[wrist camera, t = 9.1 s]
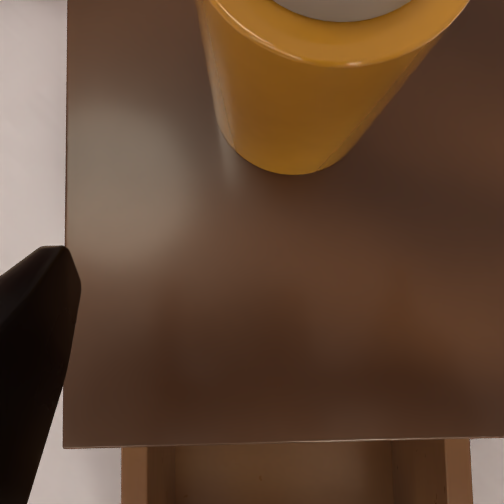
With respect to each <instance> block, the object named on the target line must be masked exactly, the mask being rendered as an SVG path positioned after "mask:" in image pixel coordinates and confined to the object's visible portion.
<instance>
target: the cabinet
mask: <svg viewBox="0 0 504 504" xmlns="http://www.w3.org/2000/svg"><path fill="white" fill-rule="evenodd" d="M65 247H67V248H68V249H69V251H70V253H71V255H72V258H73V261H74V263H75V266H76V269H77V271H78V274H79V277H80V280H81V297H80V303H79V308H78V314H77V320H76V325H75V331H74V337H73V342H72V348H71V354H70V359H69V364H68V369H67V373H66V377H65V380H64V384H63V448H64V449H87V448H126V447H164V446H203V445H242V444H280V443H319V442H358V441H397V440H435V439H474V438H504V0H470V1H469V2H468V4H467V5H466V7H465V8H464V10H463V11H462V12H461V14H460V15H459V16H458V17H457V19H456V20H455V21H454V22H453V24H452V25H451V26H450V27H449V29H448V30H447V31H446V32H445V34H444V35H443V36H442V37H441V39H440V40H439V41H438V42H437V44H436V45H435V46H434V47H433V49H432V50H431V51H430V52H429V54H428V55H427V56H426V57H425V59H424V60H423V61H422V62H421V64H420V65H419V66H418V67H417V69H416V70H415V71H414V72H413V74H412V75H411V76H410V77H409V79H408V80H407V81H406V82H405V84H404V85H403V86H402V87H401V89H400V90H399V91H398V93H397V94H396V95H395V96H394V98H393V99H392V100H391V101H390V103H389V104H388V105H387V106H386V108H385V109H384V110H383V111H382V113H381V114H380V115H379V116H378V118H377V119H376V120H375V121H374V123H373V124H372V125H371V126H370V128H369V129H368V130H367V131H366V133H365V134H364V135H363V136H362V138H361V139H360V140H359V141H358V143H357V144H356V145H355V146H354V147H353V148H352V150H351V151H350V152H349V153H348V154H347V155H345V156H344V157H343V158H342V159H341V160H339V161H337V162H336V163H334V164H333V165H331V166H329V167H327V168H325V169H322V170H319V171H316V172H313V173H307V174H300V175H287V174H279V173H274V172H270V171H267V170H264V169H262V168H259V167H257V166H256V165H254V164H252V163H250V162H249V161H247V160H246V159H244V158H243V157H242V156H241V155H239V154H238V153H237V152H236V151H235V150H234V149H233V148H232V146H231V145H230V144H229V143H228V142H227V140H226V138H225V137H224V135H223V134H222V132H221V130H220V128H219V125H218V123H217V120H216V117H215V112H214V107H213V101H212V96H211V90H210V84H209V79H208V73H207V68H206V62H205V56H204V51H203V45H202V40H201V34H200V28H199V23H198V17H197V12H196V6H195V0H68V1H67V93H66V185H65Z"/></svg>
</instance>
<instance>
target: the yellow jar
mask: <svg viewBox="0 0 504 504" xmlns="http://www.w3.org/2000/svg"><path fill="white" fill-rule="evenodd" d="M469 1H470V0H195V6H196V12H197V17H198V23H199V28H200V34H201V40H202V45H203V51H204V56H205V62H206V68H207V73H208V79H209V84H210V90H211V96H212V101H213V107H214V112H215V117H216V120H217V123H218V125H219V128H220V130H221V132H222V134H223V135H224V137H225V138H226V140H227V142H228V143H229V144H230V145H231V146H232V148H233V149H234V150H235V151H236V152H237V153H238V154H239V155H241V156H242V157H243V158H244V159H246V160H247V161H249V162H250V163H252V164H254V165H256V166H257V167H259V168H262V169H264V170H267V171H270V172H274V173H279V174H287V175H300V174H307V173H313V172H316V171H319V170H322V169H325V168H327V167H329V166H331V165H333V164H334V163H336V162H337V161H339V160H341V159H342V158H343V157H344V156H345V155H347V154H348V153H349V152H350V151H351V150H352V148H353V147H354V146H355V145H356V144H357V143H358V141H359V140H360V139H361V138H362V136H363V135H364V134H365V133H366V131H367V130H368V129H369V128H370V126H371V125H372V124H373V123H374V121H375V120H376V119H377V118H378V116H379V115H380V114H381V113H382V111H383V110H384V109H385V108H386V106H387V105H388V104H389V103H390V101H391V100H392V99H393V98H394V96H395V95H396V94H397V93H398V91H399V90H400V89H401V87H402V86H403V85H404V84H405V82H406V81H407V80H408V79H409V77H410V76H411V75H412V74H413V72H414V71H415V70H416V69H417V67H418V66H419V65H420V64H421V62H422V61H423V60H424V59H425V57H426V56H427V55H428V54H429V52H430V51H431V50H432V49H433V47H434V46H435V45H436V44H437V42H438V41H439V40H440V39H441V37H442V36H443V35H444V34H445V32H446V31H447V30H448V29H449V27H450V26H451V25H452V24H453V22H454V21H455V20H456V19H457V17H458V16H459V15H460V14H461V12H462V11H463V10H464V8H465V7H466V5H467V4H468V2H469Z"/></svg>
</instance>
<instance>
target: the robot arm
mask: <svg viewBox="0 0 504 504" xmlns="http://www.w3.org/2000/svg"><path fill="white" fill-rule="evenodd" d="M80 297H81V280H80V277H79V274H78V271H77V269H76V266H75V263H74V261H73V258H72V255H71V253H70V251H69V249H68V248H67V247H65V246H42V247H40V248H38V249H36V250H35V251H34V252H32V253H31V254H30V255H28V256H27V257H26V258H24V259H23V260H22V261H20V262H19V263H17V264H16V265H15V266H13V267H12V268H11V269H9V270H8V271H7V272H5V273H4V274H3V275H1V276H0V504H27V502H28V499H29V495H30V492H31V489H32V486H33V482H34V479H35V476H36V472H37V469H38V466H39V463H40V459H41V456H42V453H43V449H44V446H45V443H46V440H47V436H48V433H49V430H50V427H51V423H52V420H53V417H54V413H55V410H56V407H57V404H58V400H59V397H60V394H61V390H62V387H63V384H64V380H65V377H66V373H67V369H68V364H69V359H70V354H71V348H72V342H73V337H74V331H75V325H76V320H77V314H78V308H79V303H80Z"/></svg>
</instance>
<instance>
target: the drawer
mask: <svg viewBox="0 0 504 504" xmlns="http://www.w3.org/2000/svg"><path fill="white" fill-rule="evenodd" d="M121 504H473V494H472V475H471V456H470V439H435V440H397V441H358V442H319V443H280V444H242V445H203V446H164V447H126V448H121Z"/></svg>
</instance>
